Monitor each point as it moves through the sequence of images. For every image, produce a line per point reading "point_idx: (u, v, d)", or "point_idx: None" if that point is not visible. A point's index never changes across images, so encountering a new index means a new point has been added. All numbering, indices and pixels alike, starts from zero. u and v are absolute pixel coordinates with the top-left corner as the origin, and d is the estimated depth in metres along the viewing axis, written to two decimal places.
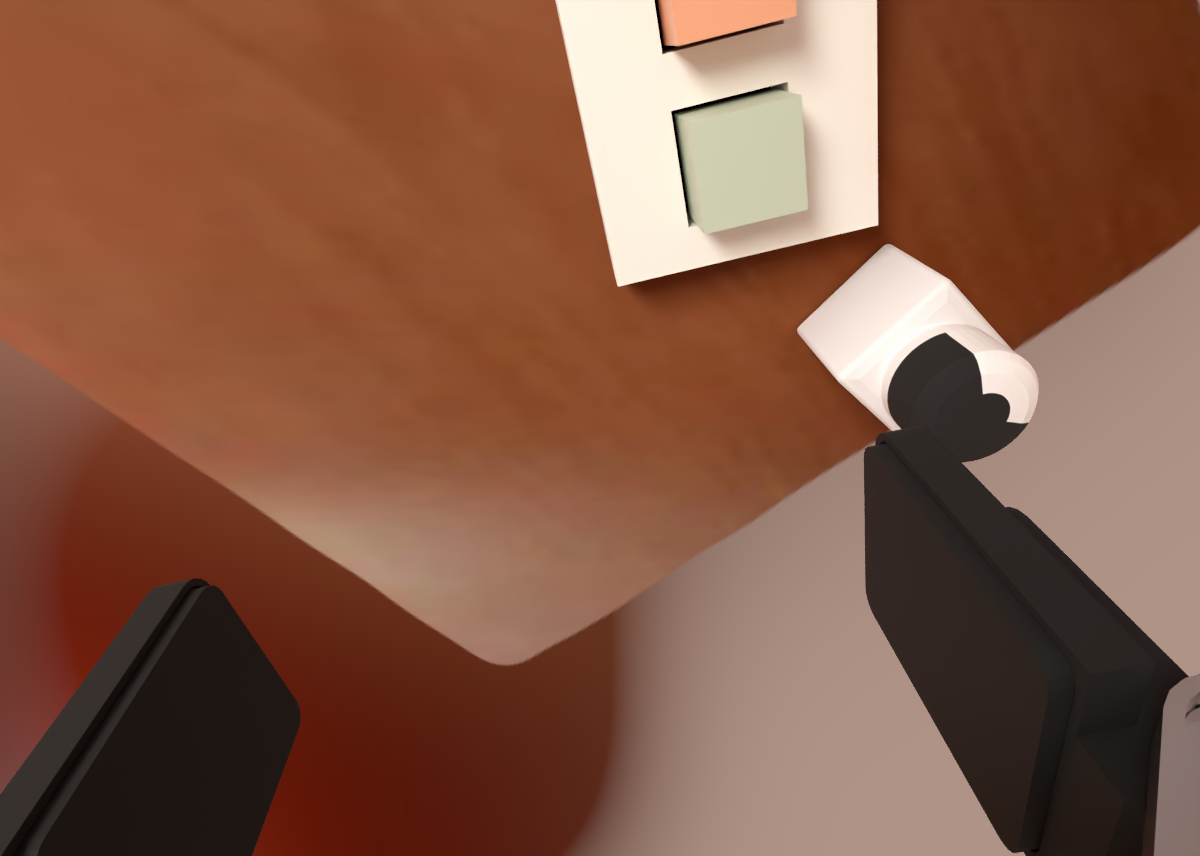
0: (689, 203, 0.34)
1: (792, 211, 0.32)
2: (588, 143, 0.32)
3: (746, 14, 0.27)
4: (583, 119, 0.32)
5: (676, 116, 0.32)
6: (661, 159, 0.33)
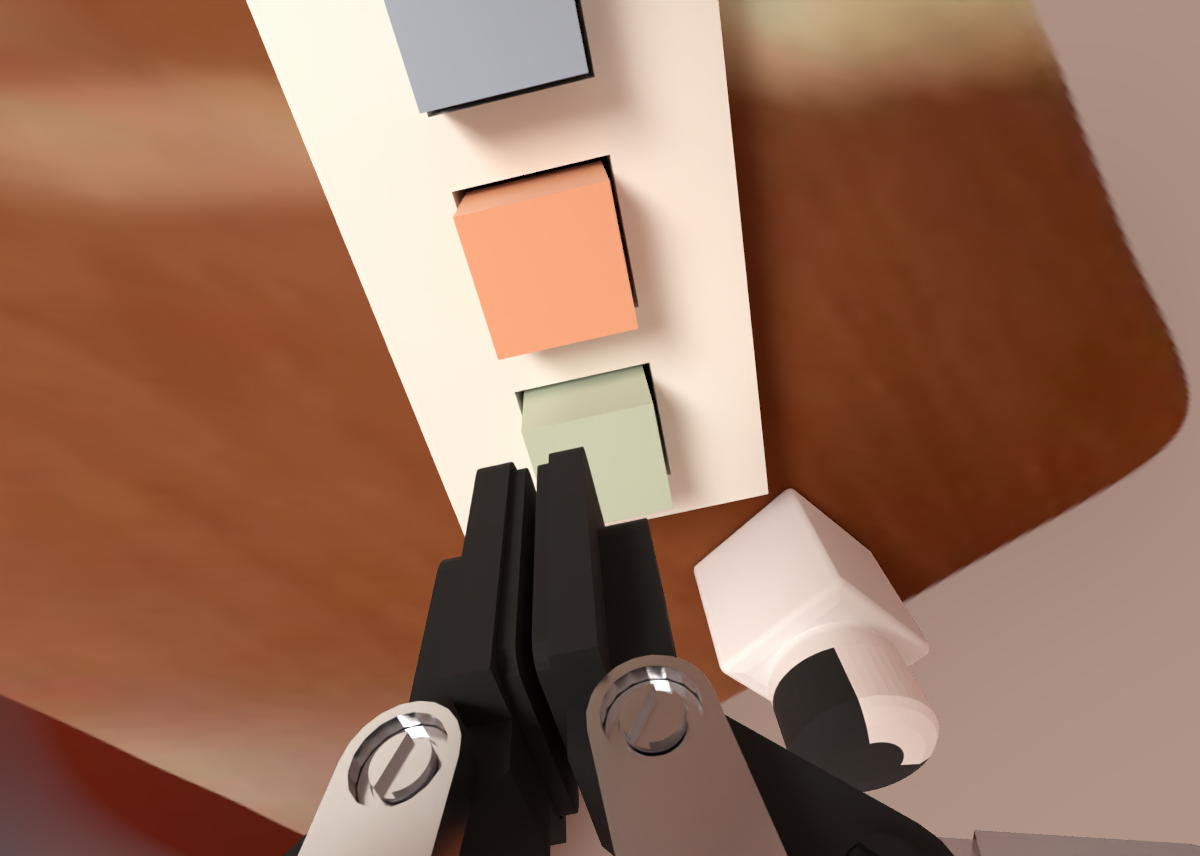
0: None
1: (655, 510, 0.27)
2: (420, 424, 0.28)
3: (577, 328, 0.23)
4: (411, 401, 0.27)
5: (524, 392, 0.28)
6: (508, 437, 0.28)
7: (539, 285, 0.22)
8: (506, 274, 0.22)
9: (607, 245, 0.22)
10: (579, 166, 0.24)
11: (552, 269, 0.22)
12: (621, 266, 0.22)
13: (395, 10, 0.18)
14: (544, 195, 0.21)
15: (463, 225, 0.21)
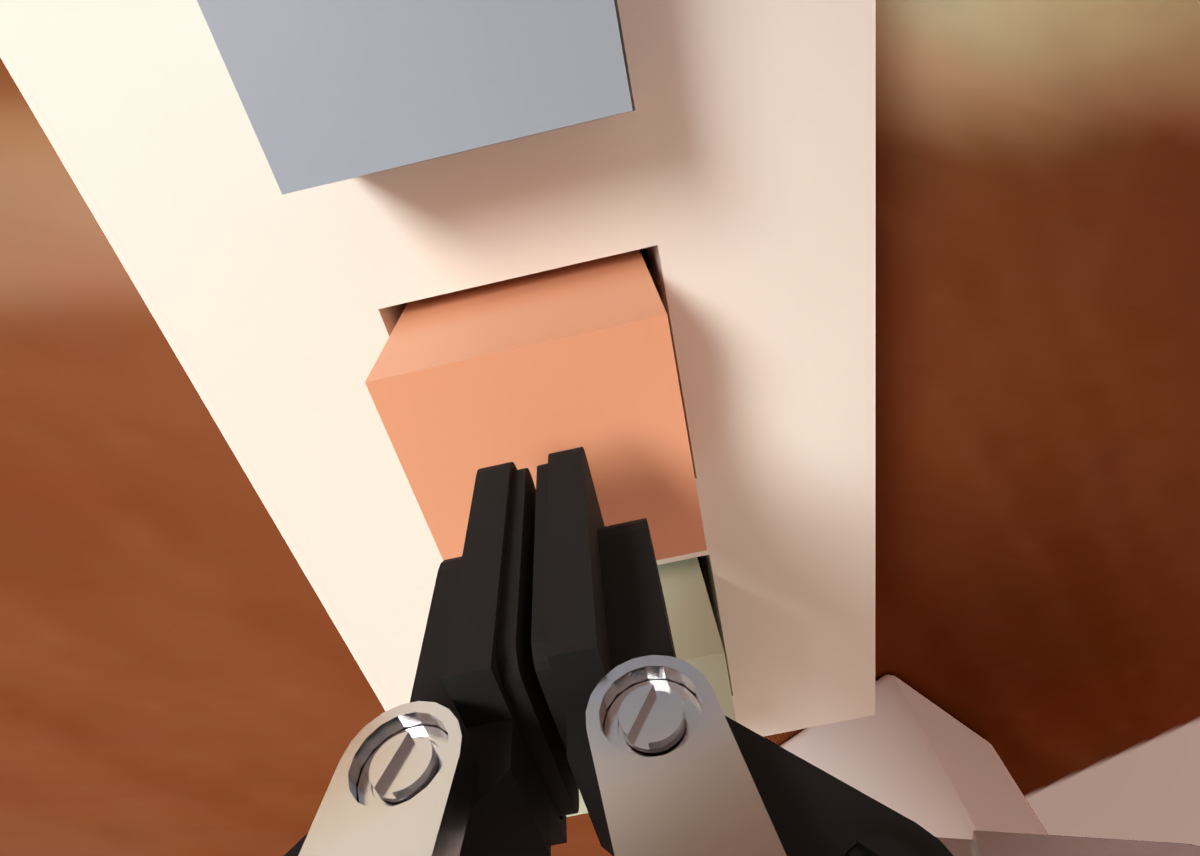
0: None
1: None
2: (348, 643, 0.18)
3: None
4: (331, 614, 0.17)
5: None
6: None
7: None
8: (470, 474, 0.12)
9: (658, 424, 0.12)
10: (601, 259, 0.14)
11: None
12: (683, 456, 0.12)
13: None
14: (541, 341, 0.11)
15: (386, 395, 0.11)
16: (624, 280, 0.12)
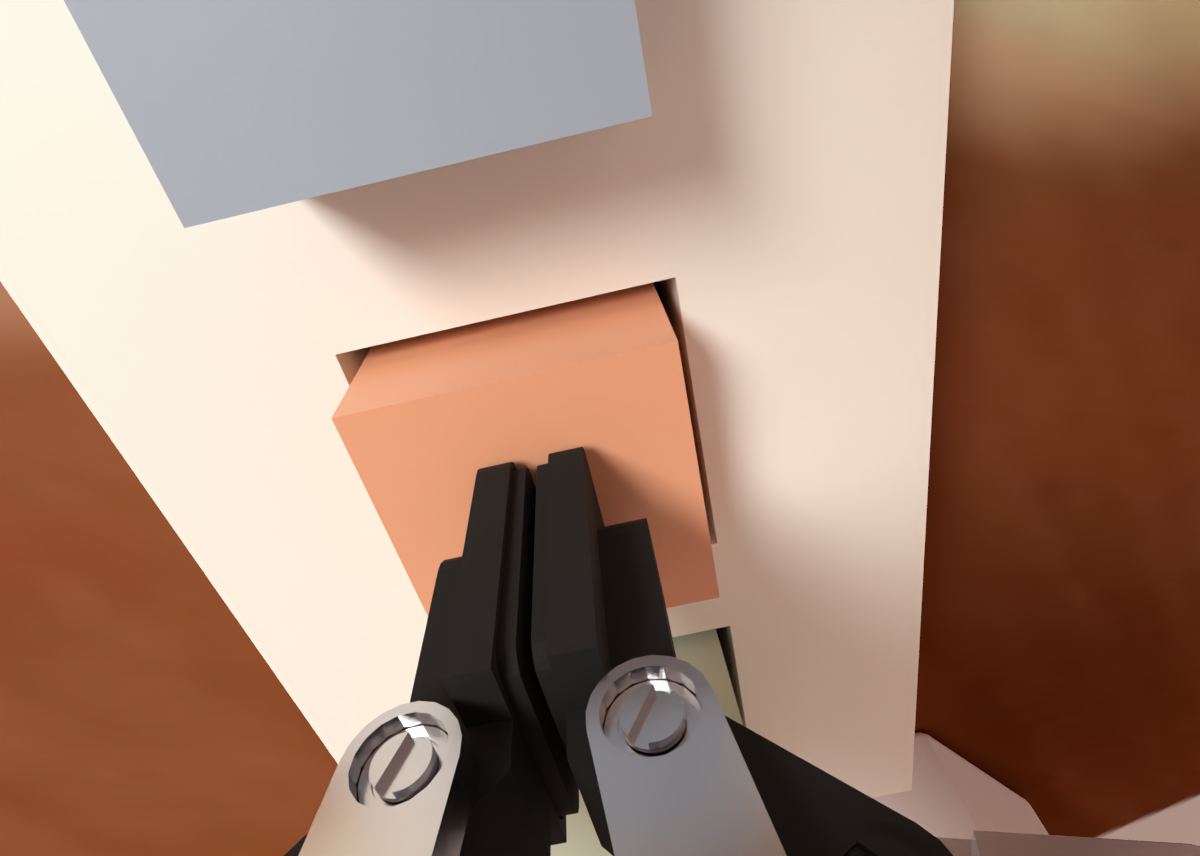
0: None
1: None
2: (313, 725, 0.15)
3: None
4: (293, 695, 0.15)
5: None
6: None
7: None
8: (454, 518, 0.10)
9: (666, 463, 0.10)
10: None
11: None
12: (694, 497, 0.11)
13: None
14: (532, 371, 0.09)
15: (356, 432, 0.10)
16: (627, 297, 0.11)
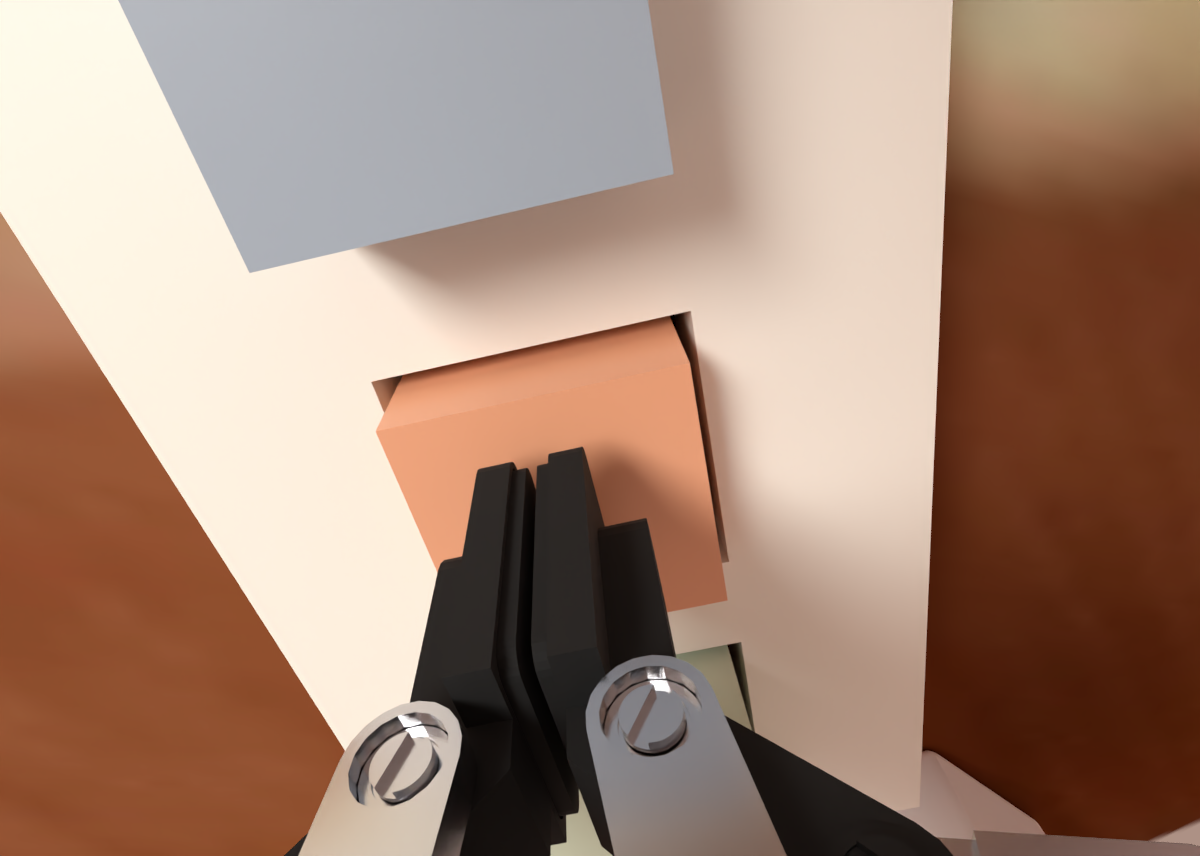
0: None
1: None
2: (338, 735, 0.16)
3: None
4: (319, 705, 0.15)
5: None
6: None
7: None
8: None
9: (679, 474, 0.11)
10: None
11: None
12: (704, 506, 0.12)
13: (150, 16, 0.06)
14: (558, 390, 0.10)
15: (397, 444, 0.11)
16: (643, 322, 0.12)
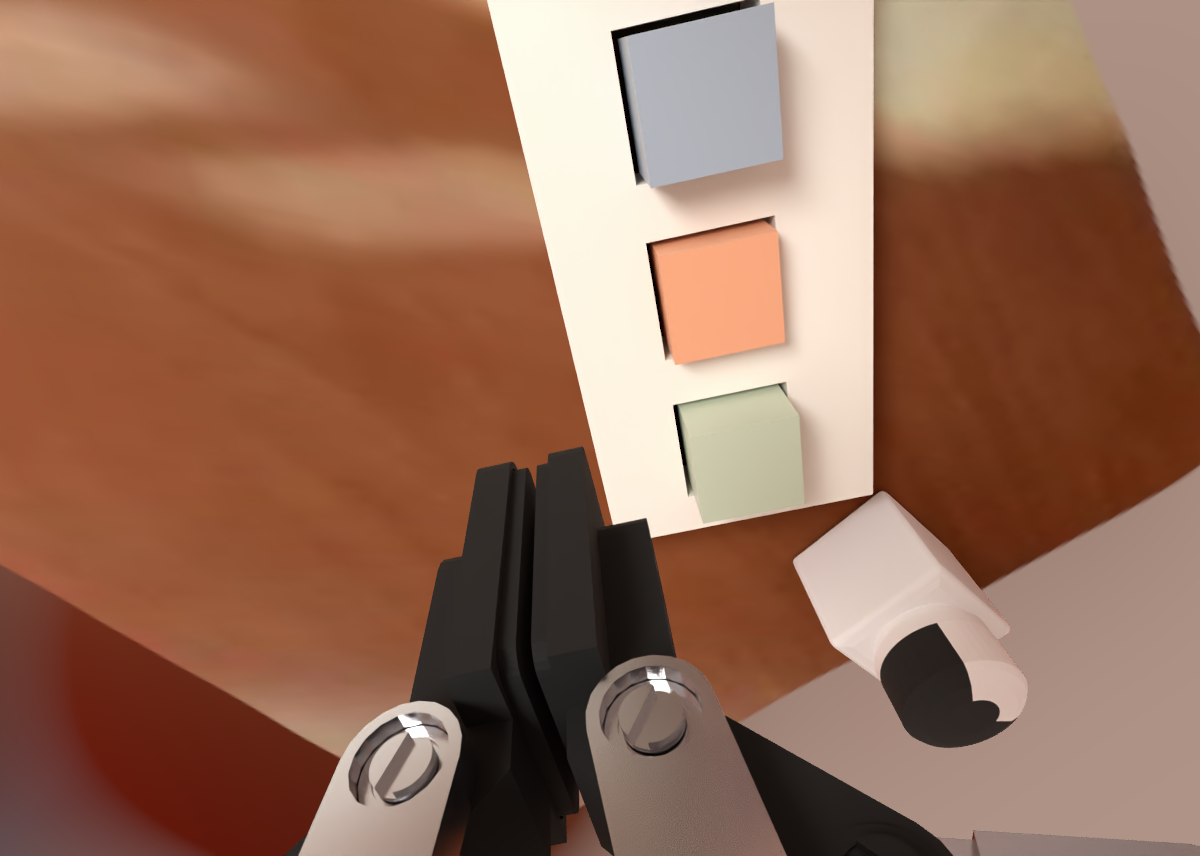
0: (689, 473, 0.35)
1: (789, 505, 0.32)
2: (591, 430, 0.33)
3: (739, 341, 0.30)
4: (587, 411, 0.33)
5: (677, 405, 0.33)
6: (662, 443, 0.34)
7: (715, 308, 0.29)
8: (690, 300, 0.29)
9: (770, 279, 0.28)
10: None
11: (726, 296, 0.29)
12: (778, 294, 0.29)
13: (645, 113, 0.24)
14: (727, 241, 0.28)
15: (664, 262, 0.28)
16: (753, 222, 0.29)
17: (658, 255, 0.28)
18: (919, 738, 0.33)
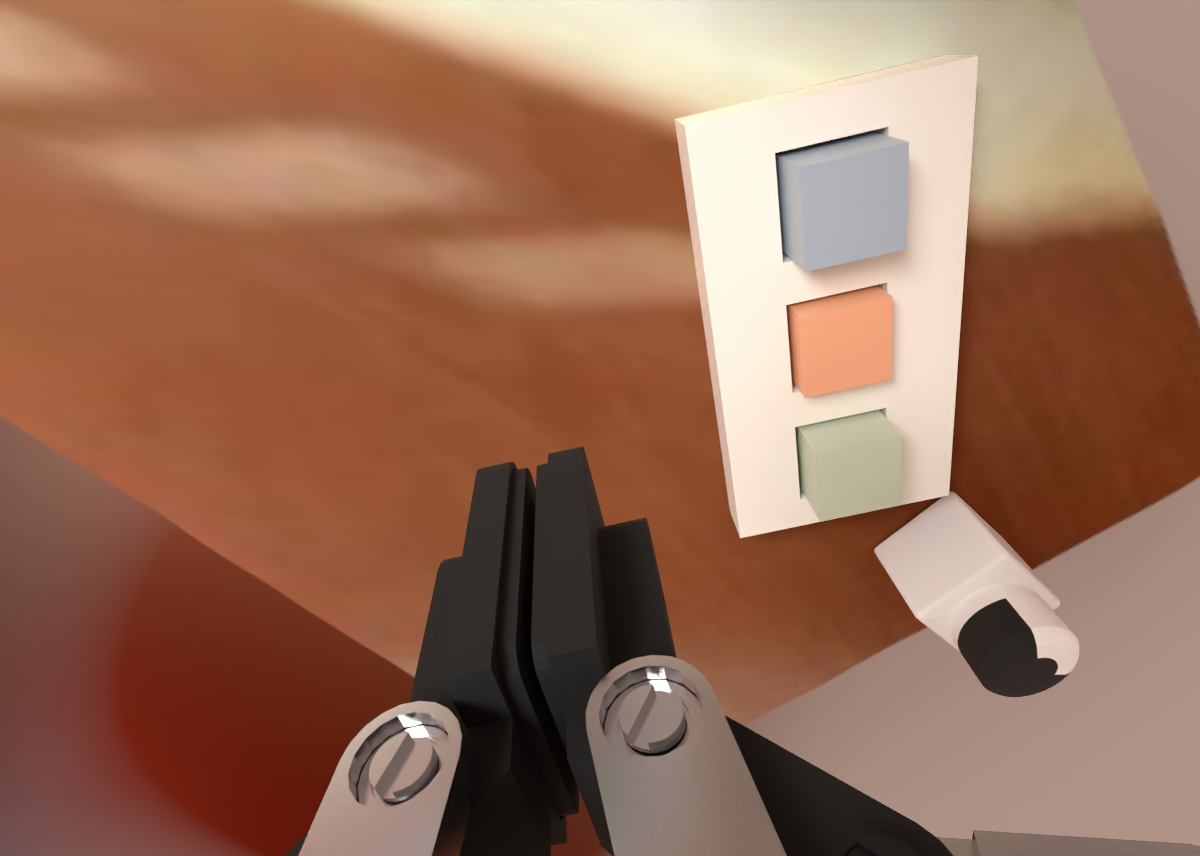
0: (801, 480, 0.44)
1: (888, 506, 0.41)
2: (729, 448, 0.41)
3: (856, 379, 0.38)
4: (727, 433, 0.41)
5: None
6: (784, 457, 0.42)
7: (839, 354, 0.37)
8: (821, 349, 0.37)
9: (883, 332, 0.37)
10: None
11: (849, 345, 0.37)
12: (889, 343, 0.37)
13: (807, 219, 0.32)
14: (853, 305, 0.36)
15: (804, 322, 0.36)
16: None
17: (799, 316, 0.36)
18: (992, 689, 0.41)
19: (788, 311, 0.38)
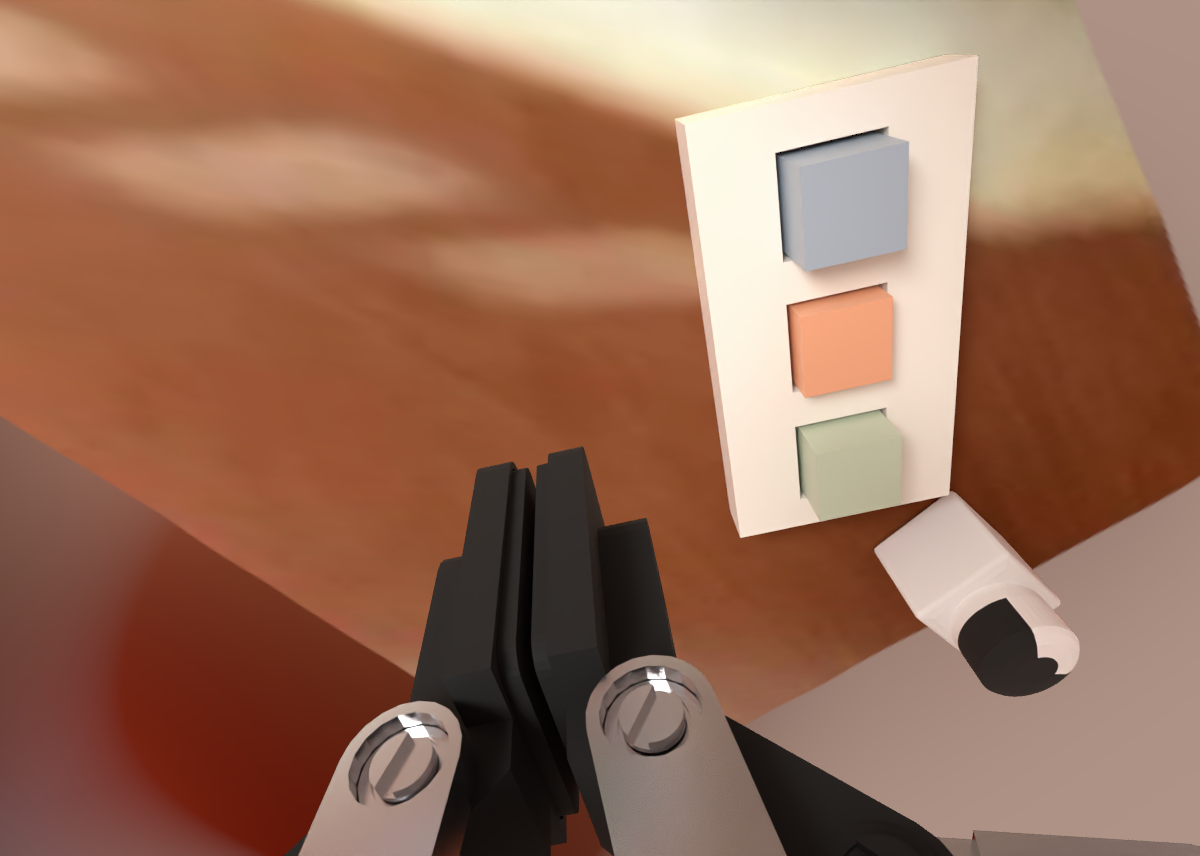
0: (801, 480, 0.44)
1: (888, 505, 0.41)
2: (729, 448, 0.41)
3: (856, 379, 0.38)
4: (727, 433, 0.41)
5: None
6: (784, 456, 0.42)
7: (839, 354, 0.37)
8: (821, 349, 0.37)
9: (884, 332, 0.37)
10: None
11: (849, 345, 0.37)
12: (889, 343, 0.37)
13: (807, 219, 0.32)
14: (853, 305, 0.36)
15: (804, 321, 0.36)
16: None
17: (799, 316, 0.36)
18: (992, 689, 0.41)
19: (788, 311, 0.38)
